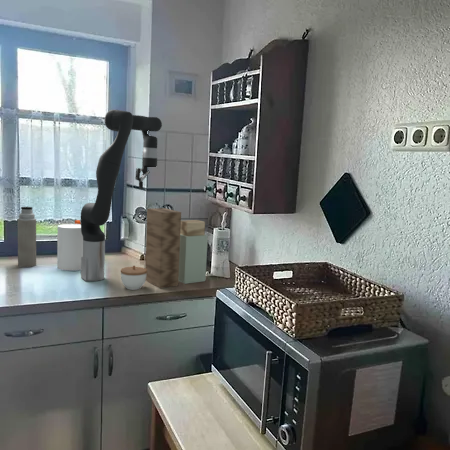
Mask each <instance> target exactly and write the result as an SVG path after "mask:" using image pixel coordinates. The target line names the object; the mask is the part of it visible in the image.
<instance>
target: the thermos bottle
mask: <svg viewBox="0 0 450 450" xmlns="http://www.w3.org/2000/svg"><path fill="white" fill-rule="evenodd" d="M20 209H21V210H20V213H19V214H18V218H17V266H18V267H19V268H20V267H21V268H33V267H35V266H37V218H35V216H36V215H35V213H33V211H34V210H33V207H32V206H22V207H20Z"/></svg>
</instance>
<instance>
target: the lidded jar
mask: <svg viewBox="0 0 450 450" xmlns="http://www.w3.org/2000/svg"><path fill="white" fill-rule="evenodd" d="M146 276H147V269H145V267H141V266H136V265H132V266H126V267H122V268H121V269H120V280H121V284H122V285H123V286H124V287H125V289H126V290H131V291H132V290H133V291H134V290H135V291H136V290H141V288H142V287H143V286H144V285H145V283H146V282H147V281H146Z"/></svg>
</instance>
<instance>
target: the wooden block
mask: <svg viewBox="0 0 450 450" xmlns="http://www.w3.org/2000/svg"><path fill="white" fill-rule="evenodd" d="M205 230H206V221H203V220H199V219H194V220H191V219H190V220H189V219H188V220H181V230H180V234H182V235H185V236H199V235H205Z"/></svg>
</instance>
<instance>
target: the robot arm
mask: <svg viewBox="0 0 450 450" xmlns="http://www.w3.org/2000/svg"><path fill="white" fill-rule="evenodd" d="M104 125H105V127H106V128H107V129H108V130H110V131H112V132H117V134H116V136H115V139H114V140H113V142H112V143H111V144H110V145H109V146H108V147H107V149H105V150H104V151H103V152H102V153H101V155H100V157H99V159H98V163H97V166H96V169H95V177H96V183H97V194H96V199H95V202H87V203H85V204H84V205H83V206H82V208H81V210H80V222H81V233H82V235H83V257H81V270H80V278H81V279H82V280H83V281H84V282H89V281H90V282H98V281H102V280H105V265H106V262H105V261H106V259H105V258H106V256H105V255H106V234H105V232H103V230H102V229H101V227H102V226H103V225H105V224H106V223H107V222H108V220H109V218H110V213H111V207H112V202H113V201H112V200H113V195H114V191H115V187H116V182H117V178H118V176H119V173H120V169H121V168H120V167H121V164H122V159H123V155H124V152H125V148H126V145H127V142H128V140H129V137H130V134H131V132H132V130H134V131H141V135H142V138H143V143H142V145H143V146H142V147H143V148H142V155H141V156H142V161H141V164H142V165H141V166H142V168H140V167H137V168H135V177H134V180H136V181H138V188H139V189H141V190H143V189H144V186H143V185H144V180H145V179H146V178H147V177H146V176H147V175H148V174H149V173H150V171H149V170H148V171H147V167H156V166H157V167H158V155H157V153H158V138H157V137H156V136H154V135H151V136H149V135H148V134H147V131H148V130H149V132H159V131H161V129H162V126H163V123H162V121H161V119H160V118H159V117H158V116H157V117H156V116H145V115H139V114H132V113H131V111H126V110H120V109H110V110H108V111H107V112H106V113H105V116H104Z"/></svg>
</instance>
